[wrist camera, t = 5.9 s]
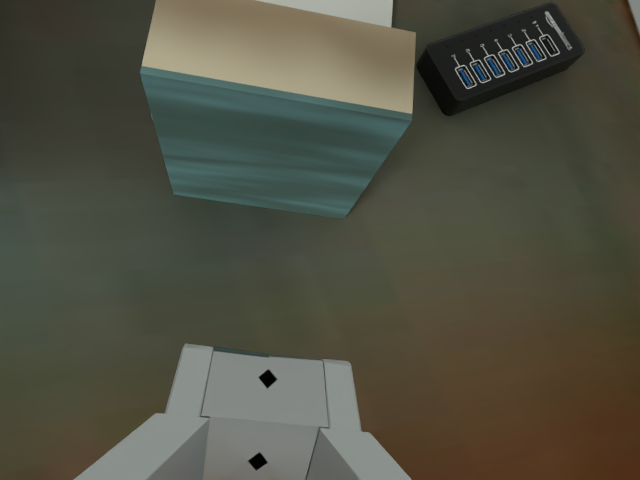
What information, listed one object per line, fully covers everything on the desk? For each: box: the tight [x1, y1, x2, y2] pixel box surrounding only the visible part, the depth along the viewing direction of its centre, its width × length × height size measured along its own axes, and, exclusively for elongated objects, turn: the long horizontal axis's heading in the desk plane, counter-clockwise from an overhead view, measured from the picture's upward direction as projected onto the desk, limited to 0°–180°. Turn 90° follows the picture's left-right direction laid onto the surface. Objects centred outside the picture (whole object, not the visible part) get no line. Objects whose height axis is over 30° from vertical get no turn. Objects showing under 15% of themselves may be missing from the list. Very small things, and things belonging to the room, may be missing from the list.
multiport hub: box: [416, 2, 585, 116], centre depth 35 cm, size 4×11×2 cm, turn 117°
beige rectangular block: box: [140, 0, 416, 219], centre depth 25 cm, size 4×10×12 cm, turn 85°
